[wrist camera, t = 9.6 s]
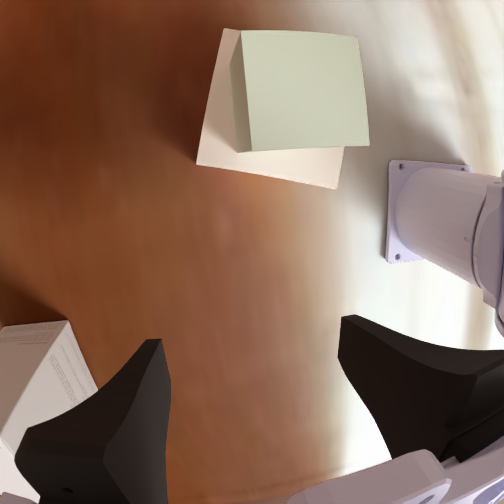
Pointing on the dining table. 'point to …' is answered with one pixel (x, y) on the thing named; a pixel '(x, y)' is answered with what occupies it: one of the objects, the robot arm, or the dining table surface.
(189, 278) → the dining table surface
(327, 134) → the sage block
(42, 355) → the supplement box
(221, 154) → the cream block
